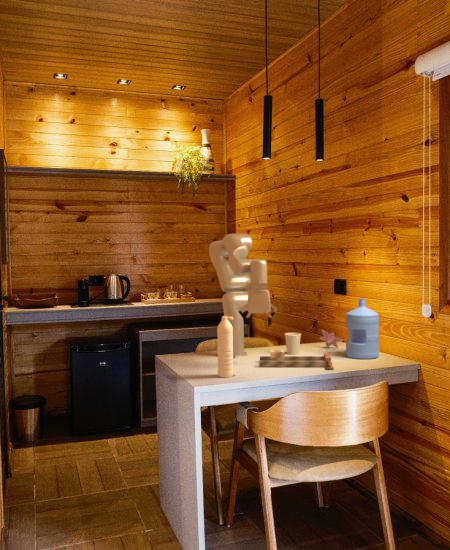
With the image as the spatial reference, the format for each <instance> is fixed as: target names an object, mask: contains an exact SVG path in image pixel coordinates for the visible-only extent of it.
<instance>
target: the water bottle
mask: <svg viewBox="0 0 450 550" xmlns="http://www.w3.org/2000/svg"><path fill="white" fill-rule="evenodd" d="M228 320H233V317H228V316H224V315H223V316H221V321H220V322H219V324H218V325H217V328H216V332H217V338H216V339H217V347H218V351H217V376H218V377H219V376H220V378H231V377H234V358H233V327H232V325H231V324H230V322H229V321H228Z"/></svg>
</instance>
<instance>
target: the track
mask: <svg viewBox="0 0 450 550" xmlns="http://www.w3.org/2000/svg"><path fill="white" fill-rule="evenodd" d="M258 366H259V368H263V369H265V368H266V369H268V368H269V369H271V368H273V369H275V368H276V369H281V368H283V369H285V368H286V369H288V368H291V369H292V368H293V369H295V368H296V369H297V368H299V369H300V368H302V369H303V368H304V369H307V368H308V369H313V368H314V369H316V368H318V369H322V368H323V369H324V370H325V371H334V366H333V364H332V357H331V355H330V353H328V352H323V355H317V356H316V355H284V361H271V355H266V356H265V355H259V361H258Z"/></svg>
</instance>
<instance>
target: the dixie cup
mask: <svg viewBox="0 0 450 550" xmlns="http://www.w3.org/2000/svg"><path fill="white" fill-rule="evenodd" d="M301 337H302V333H301V332H285V333H284V338H285V345H286V347H285V348H286V353H287V355H289V356H298V355H300V347H301V346H300V344H301Z"/></svg>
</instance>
